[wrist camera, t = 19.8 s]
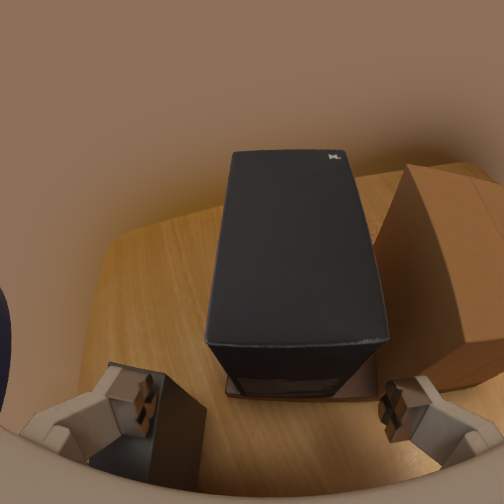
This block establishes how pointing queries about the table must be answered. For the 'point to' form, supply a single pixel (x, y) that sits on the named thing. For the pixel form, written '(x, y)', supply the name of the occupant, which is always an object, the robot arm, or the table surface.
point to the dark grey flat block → (160, 441)
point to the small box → (294, 276)
